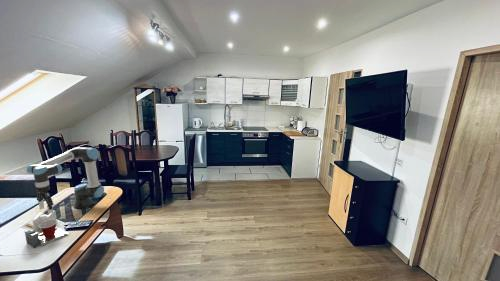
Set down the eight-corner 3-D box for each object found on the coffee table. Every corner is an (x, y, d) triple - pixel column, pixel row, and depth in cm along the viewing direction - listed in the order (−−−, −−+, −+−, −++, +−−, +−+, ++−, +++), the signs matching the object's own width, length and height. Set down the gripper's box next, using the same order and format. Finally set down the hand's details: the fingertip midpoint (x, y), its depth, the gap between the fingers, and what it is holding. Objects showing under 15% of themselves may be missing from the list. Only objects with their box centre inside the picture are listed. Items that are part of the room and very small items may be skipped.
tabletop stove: (58, 228, 183) (56, 215, 181) (68, 234, 176) (67, 221, 174) (23, 242, 164) (21, 228, 161) (34, 250, 157) (32, 235, 155)
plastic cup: (40, 242, 164) (38, 228, 162) (41, 235, 172) (39, 222, 170) (58, 237, 171) (56, 223, 169) (59, 230, 179) (57, 217, 177)
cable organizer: (49, 230, 180) (47, 217, 178) (33, 232, 176) (31, 220, 174) (57, 220, 194) (55, 209, 192) (42, 222, 190) (40, 211, 188)
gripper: (28, 184, 165) (32, 208, 169) (44, 191, 155) (48, 217, 159) (40, 181, 172) (44, 204, 176) (57, 187, 162) (60, 212, 166)
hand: (46, 210), depth 167 cm, fingers open, 13 cm apart
